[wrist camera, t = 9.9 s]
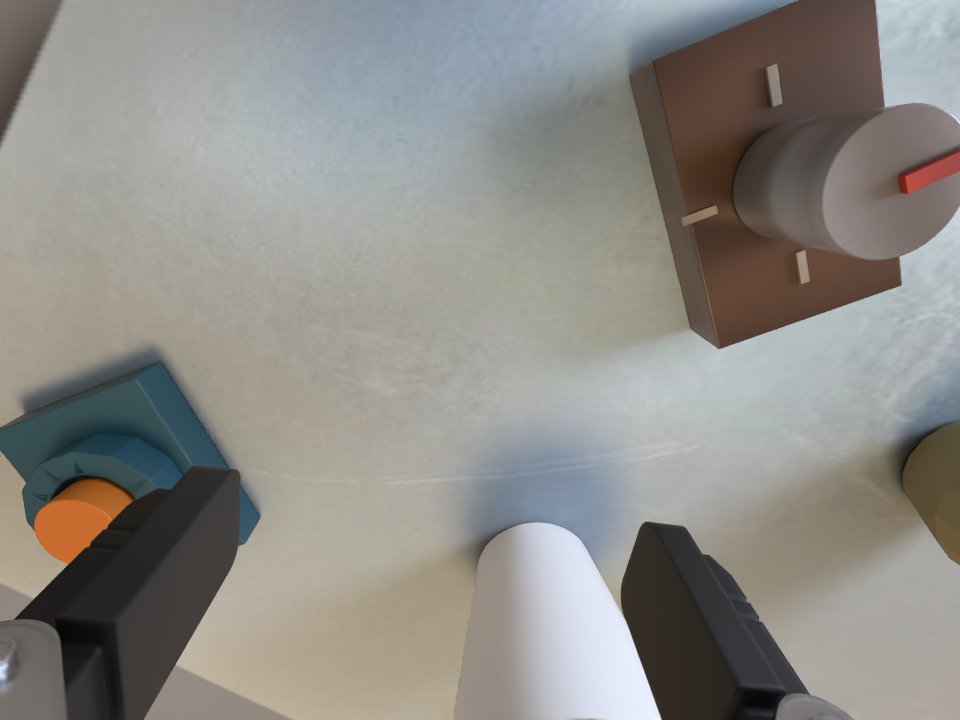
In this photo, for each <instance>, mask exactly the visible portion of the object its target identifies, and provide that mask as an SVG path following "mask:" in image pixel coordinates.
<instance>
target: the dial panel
mask: <svg viewBox="0 0 960 720" xmlns="http://www.w3.org/2000/svg"><path fill="white" fill-rule="evenodd" d="M629 76H630V81H631V85H632V89H633V93H634V97H635V101H636V105H637V109H638V113H639V117H640V121H641V126H642V130H643V134H644V138H645V142H646V146H647V150H648V154H649V158H650V162H651V166H652V171H653V175H654V179H655V183H656V187H657V191H658V195H659V199H660V203H661V207H662V212H663V216H664V220H665V224H666V228H667V232H668V236H669V240H670V244H671V248H672V252H673V257H674V261H675V265H676V269H677V273H678V277H679V281H680V285H681V289H682V293H683V297H684V302H685V306H686V310H687V314H688V318H689V322H690V326H691V330H693V331H694V332H695V333H697V334H698V335H700V336H701V337H702V338H704V339H705V340H707V341H708V342H710V343H711V344H712V345H714V346H715V347H717V348H718V349H721V348H724V347H727V346H729V345H732V344H735V343H738V342H741V341H744V340H747V339H749V338H752V337H755V336H758V335H761V334H764V333H767V332H769V331H772V330H775V329H778V328H781V327H784V326H787V325H789V324H792V323H795V322H798V321H801V320H804V319H807V318H810V317H812V316H815V315H818V314H821V313H824V312H827V311H830V310H832V309H835V308H838V307H841V306H844V305H847V304H850V303H852V302H855V301H858V300H861V299H864V298H867V297H870V296H872V295H875V294H878V293H881V292H884V291H887V290H890V289H893V288H895V287H898V286H901V285H902V282H901V271H900V259H899V257H895V258H891V259H885V260H867V259H861V258H856V257H852V256H847V255H843V254H838V253H834V252H829V251H825V250H821V249H816V248H812V247H807V246H803V245H798V244H794V243H789V242H785V241H780V240H776V239H771V238H767V237H764V236H761V235H759V234H756V233H755V232H753V231H752V230H750V229H749V228H748V227H747V226H746V225H745V224H744V223H743V222H742V220H741V219H740V217H739V215H738V213H737V210H736V208H735V204H734V198H733V184H734V179H735V175H736V171H737V168H738V166H739V164H740V161H741V160H742V158H743V156H744V154H745V153H746V152H747V150H748V149H749V147H750V146H751V145H752V144H753V143H754V142H755V141H756V140H757V139H758V138H759V137H760V136H761V135H763V134H764V133H765V132H767V131H768V130H770V129H772V128H774V127H775V126H778V125H780V124H783V123H786V122H790V121H797V120H803V119H810V118H817V117H823V116H830V115H837V114H844V113H850V112H857V111H864V110H870V109H877V108H884V107H886V105H885V94H884V83H883V72H882V60H881V49H880V38H879V27H878V16H877V5H876V0H798V1H796V2H793V3H791V4H789V5H786V6H784V7H781V8H779V9H776V10H774V11H772V12H769V13H767V14H764V15H762V16H759V17H757V18H755V19H752V20H750V21H747V22H745V23H742V24H740V25H738V26H735V27H733V28H730V29H728V30H725V31H723V32H721V33H718V34H716V35H713V36H711V37H708V38H706V39H704V40H701V41H699V42H696V43H694V44H691V45H689V46H687V47H684V48H682V49H679V50H677V51H674V52H672V53H670V54H667V55H665V56H662V57H660V58H657V59H655V60H653V61H651V62H650V63H648V64H646V65H644V66H643V67H641V68H639V69H638V70H636V71H634V72H632V73H631V74H630V75H629Z"/></svg>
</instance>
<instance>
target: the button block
mask: <svg viewBox="0 0 960 720" xmlns="http://www.w3.org/2000/svg"><path fill="white" fill-rule="evenodd" d="M0 451H1V452H2V453H3V454H4V455H5V457H6V458H7V459H8V460H9V462H10V463H11V464H12V465H13V467H14V468H15V469H16V470H17V471H18V473H19V474H20V475H21V476H22V478H23V479H24V480H25V481H26V485H25V486H24V488H23V491H22V494H23V500H24V507H25V513H26V519H27V522H28V524H29V525H30V526H31V527H32V529H33V530H34V531H35V528H34V524H35V519H36V516H37V514H38V512H39V511H40V509H41V508H43V507H44V506H45V505H46V504H47V503H49V502H50V501H51V500H52V499H54V498H55V497H56V496H57V495H59V494H60V493H61V492H62V491H64V490H65V489H66V488H67V487H69V486H70V485H71V484H73V483H74V482H76V481H78V480H81V479H85V478H93V477H97V478H105V479H109V480H111V481H113V482H115V483H116V484H118V485H120V486H122V487H123V488H125V489H127V490H129V491H130V492H131V493H132V494H133V496H134V497H135V498H136V500H137V499H139V498H141V497H142V496H144V495H146V494H148V493H150V492H152V491H153V490H155V489H157V488H161V489H169V490H171V489H172V488H173V487H174V486H175V485H176V483H177V482H178V481H179V480H180V479H181V478H182V477H183V476H184V475H185V474H186V472H187V471H188V470H189V469H190V468H191V467H192V466H194V465H202V466H210V467H218V468H227V469H229V467H228V466H227V464H226V463H225V461H224V459H223V458H222V456H221V455H220V453H219V452H218V450H217V448H216V447H215V445H214V444H213V442H212V441H211V439H210V438H209V436H208V434H207V433H206V431H205V430H204V428H203V427H202V425H201V423H200V422H199V420H198V419H197V417H196V416H195V414H194V413H193V411H192V409H191V408H190V406H189V405H188V403H187V402H186V400H185V398H184V397H183V395H182V394H181V392H180V391H179V389H178V387H177V386H176V384H175V383H174V381H173V380H172V378H171V377H170V375H169V373H168V372H167V370H166V369H165V367H164V366H163V364H162V363H161V362H157V363H155V364H152V365H150V366H147V367H145V368H142V369H139V370H137V371H134V372H132V373H129V374H127V375H124V376H121V377H119V378H116V379H114V380H111V381H109V382H106V383H104V384H101V385H98V386H96V387H93V388H91V389H88V390H86V391H83V392H80V393H78V394H75V395H73V396H70V397H68V398H65V399H62V400H60V401H57V402H55V403H52V404H50V405H47V406H45V407H42V408H39V409H37V410H34V411H32V412H29V413H27V414H24V415H22V416H20V417H19V418H17V419H15V420H13V421H11V422H10V423H8V424H6V425H4V426H2V427H1V428H0ZM259 519H260V516H259V514H258V513H257V511H256V509H255V508H254V506H253V505H252V503H251V502H250V500H249V499H248V497H247V495H246V494H245V492H244V491H243V489H242V488H241V486H240V538H239V545H238V546H240V545H243V544H245V543H246V541H247V540H248V538H249V536H250V535H251V533H252V531H253V530H254V528H255V526H256V525H257V523H258V521H259Z"/></svg>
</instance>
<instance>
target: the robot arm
mask: <svg viewBox="0 0 960 720" xmlns="http://www.w3.org/2000/svg"><path fill="white" fill-rule="evenodd" d="M239 538H240V474H239V472H238V470H235V469H227V468H218V467H210V466H202V465H194V466H192V467H191V468H190V469H189V470H188V471H187V472H186V474H185V475H184V476H183V477H182V478H181V479H180V480H179V481H178V482H177V483H176V485H175V486H174V487H173V488H172V489H171V490H169V489H161V488H157V489H155V490H153V491H152V492H150V493H148V494H146V495H144V496H142V497H141V498H139V499H137V500H135V501H133V502H131V503H130V504H128V505H127V506H126V507H125V508H124V509H123V510H122V511H121V512H120V513H119V514H118V515H117V516H116V517H115V518H114V519H113V520H112V521H111V522H110V523H109V524H108V527H107V529H103V530H102V531H101V532H100V533H99V534H98V535H97V536H96V537H95V538H94V539H93V540H92V541H91V542H90V546H89V547H85V548H84V549H83V550H82V551H81V552H80V553H79V554H78V555H77V556H76V557H75V558H74V559H73V560H72V561H71V562H70V563H69V564H68V565H67V566H66V568H65V569H64V570H63V571H62V572H61V573H60V574H59V575H58V576H57V577H56V578H55V579H54V580H53V581H52V582H51V583H50V584H49V585H48V586H47V587H46V588H45V589H44V590H43V591H42V592H41V593H40V594H39V595H38V596H37V597H36V598H35V599H34V600H33V601H32V602H31V603H30V604H29V605H28V606H27V607H26V608H25V609H24V610H23V611H22V612H21V613H20V614H19V615H18V616H17V617H16V618H15V619H14V620H9V621H2V622H0V720H144V718H145V716H146V714H147V712H148V711H149V709H150V707H151V706H152V704H153V702H154V701H155V699H156V697H157V695H158V694H159V692H160V690H161V689H162V687H163V685H164V683H165V682H166V680H167V678H168V676H169V675H170V673H171V671H172V670H173V668H174V666H175V664H176V663H177V661H178V659H179V657H180V656H181V654H182V652H183V651H184V649H185V647H186V645H187V644H188V642H189V640H190V638H191V637H192V635H193V633H194V632H195V630H196V628H197V626H198V625H199V623H200V621H201V619H202V618H203V616H204V614H205V612H206V611H207V609H208V607H209V606H210V604H211V602H212V600H213V599H214V597H215V595H216V593H217V592H218V590H219V588H220V587H221V585H222V583H223V581H224V580H225V578H226V576H227V574H228V573H229V571H230V569H231V567H232V565H233V562H234V560H235V557H236V553H237V549H238V545H239ZM621 605H622V610H623V614H624V617H625V620H626V623H627V625H628V628H629V631H630V634H631V636H632V639H633V642H634V645H635V648H636V650H637V653H638V656H639V659H640V661H641V664H642V667H643V670H644V673H645V675H646V678H647V681H648V684H649V686H650V689H651V692H652V695H653V698H654V700H655V703H656V706H657V709H658V711H659V714H660V717H661V720H854V719H853V718H852V717H851V716H849V715H848V714H847V713H845V712H844V711H843V710H841V709H839V708H838V707H836V706H835V705H833V704H831V703H829V702H827V701H825V700H823V699H820V698H818V697H815V696H812V695H810V694H809V692H808V691H807V689H806V688H805V686H804V685H803V683H802V682H801V680H800V679H799V677H798V676H797V674H796V673H795V671H794V669H793V668H792V666H791V665H790V663H789V662H788V660H787V659H786V657H785V656H784V654H783V653H782V651H781V650H780V648H779V647H778V645H777V644H776V642H775V641H774V639H773V638H772V636H771V635H770V633H769V632H768V630H767V629H766V627H765V626H764V624H763V622H759V616H758V615H757V613H756V612H755V610H754V609H753V607H752V606H751V604H750V603H749V602H746V597H745V595H744V594H743V592H742V591H741V589H740V588H739V586H738V585H737V583H736V582H735V580H734V579H733V577H732V576H731V575H730V574H729V573H728V572H727V571H726V570H725V569H724V568H723V567H722V566H720V565H719V564H718V563H717V562H716V561H715V560H714V559H713V558H712V557H711V556H709V555H704V554H702V553H701V551H700V550H699V548H698V546H697V545H696V543H695V541H694V540H693V538H692V537H691V535H690V533H689V532H688V530H687V529H686V528H685V527H683V526H678V525H670V524H662V523H654V522H645V523H643V524H642V526H641V527H640V530H639V532H638V535H637V538H636V541H635V544H634V547H633V550H632V553H631V556H630V559H629V562H628V565H627V568H626V571H625V574H624V577H623V581H622V586H621Z"/></svg>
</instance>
